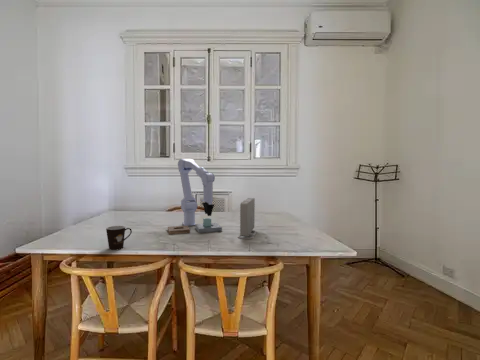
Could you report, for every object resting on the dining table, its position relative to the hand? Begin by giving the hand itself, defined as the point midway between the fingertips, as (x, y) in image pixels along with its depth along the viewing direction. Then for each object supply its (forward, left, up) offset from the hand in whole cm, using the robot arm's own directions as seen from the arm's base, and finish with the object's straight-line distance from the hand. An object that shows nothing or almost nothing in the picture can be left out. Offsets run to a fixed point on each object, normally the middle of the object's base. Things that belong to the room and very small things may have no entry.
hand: (208, 214), depth 186 cm
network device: (+20, +19, -10) cm, 29 cm away
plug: (0, -1, -9) cm, 9 cm away
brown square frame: (0, -18, -9) cm, 20 cm away
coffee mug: (+27, -49, -10) cm, 57 cm away
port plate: (0, 0, -9) cm, 9 cm away
